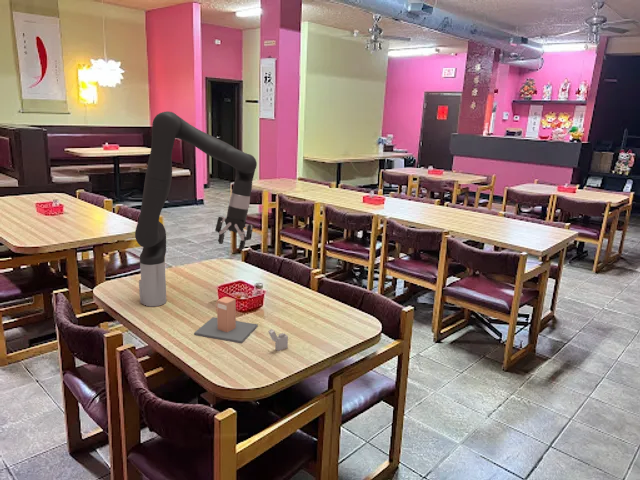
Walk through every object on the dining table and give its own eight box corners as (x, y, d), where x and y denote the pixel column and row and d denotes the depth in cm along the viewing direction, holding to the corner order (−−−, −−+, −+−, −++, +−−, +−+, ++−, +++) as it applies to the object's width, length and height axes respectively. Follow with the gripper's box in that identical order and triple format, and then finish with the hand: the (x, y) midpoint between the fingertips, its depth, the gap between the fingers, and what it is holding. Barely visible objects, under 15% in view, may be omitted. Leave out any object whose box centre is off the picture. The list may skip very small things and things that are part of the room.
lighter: (284, 345, 164) (285, 323, 162) (287, 347, 163) (288, 325, 161) (267, 351, 160) (268, 329, 157) (270, 353, 158) (271, 331, 156)
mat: (194, 334, 169) (194, 332, 169) (213, 319, 182) (213, 317, 182) (241, 343, 164) (241, 341, 164) (257, 326, 177) (257, 324, 177)
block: (217, 329, 172) (216, 300, 169) (226, 324, 176) (225, 296, 173) (227, 332, 170) (226, 303, 167) (235, 327, 174) (235, 299, 171)
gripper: (217, 201, 183) (209, 243, 186) (251, 211, 180) (243, 252, 183) (226, 201, 190) (218, 240, 193) (259, 210, 187) (251, 250, 190)
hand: (230, 246), depth 188 cm, fingers open, 8 cm apart
